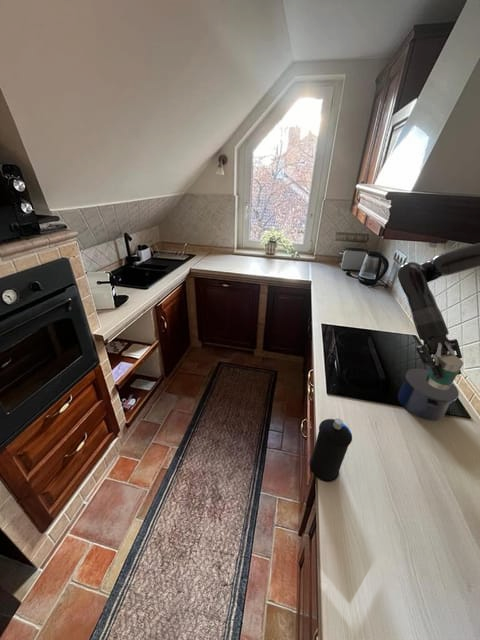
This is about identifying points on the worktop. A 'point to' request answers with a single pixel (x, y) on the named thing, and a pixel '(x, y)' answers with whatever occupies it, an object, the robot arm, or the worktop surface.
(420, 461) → the worktop surface
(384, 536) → the worktop surface
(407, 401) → the pot
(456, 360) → the tin can
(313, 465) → the aerosol can
